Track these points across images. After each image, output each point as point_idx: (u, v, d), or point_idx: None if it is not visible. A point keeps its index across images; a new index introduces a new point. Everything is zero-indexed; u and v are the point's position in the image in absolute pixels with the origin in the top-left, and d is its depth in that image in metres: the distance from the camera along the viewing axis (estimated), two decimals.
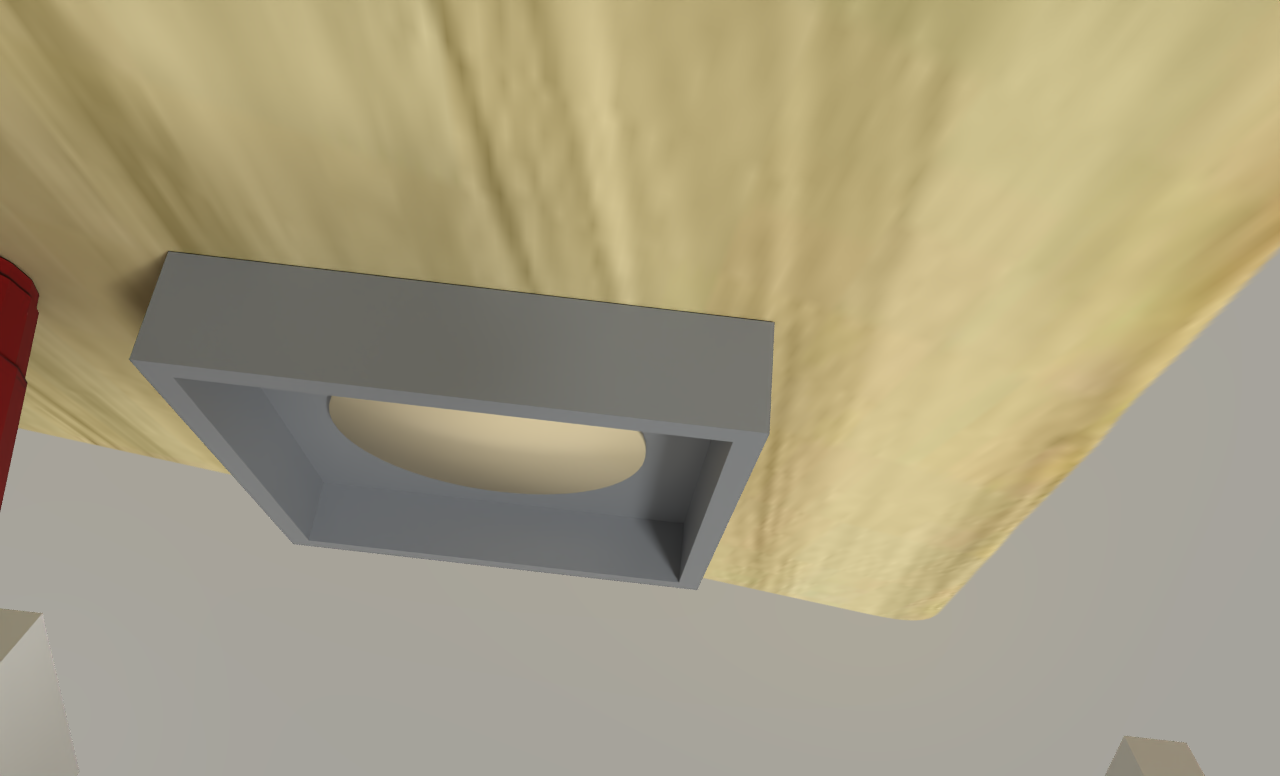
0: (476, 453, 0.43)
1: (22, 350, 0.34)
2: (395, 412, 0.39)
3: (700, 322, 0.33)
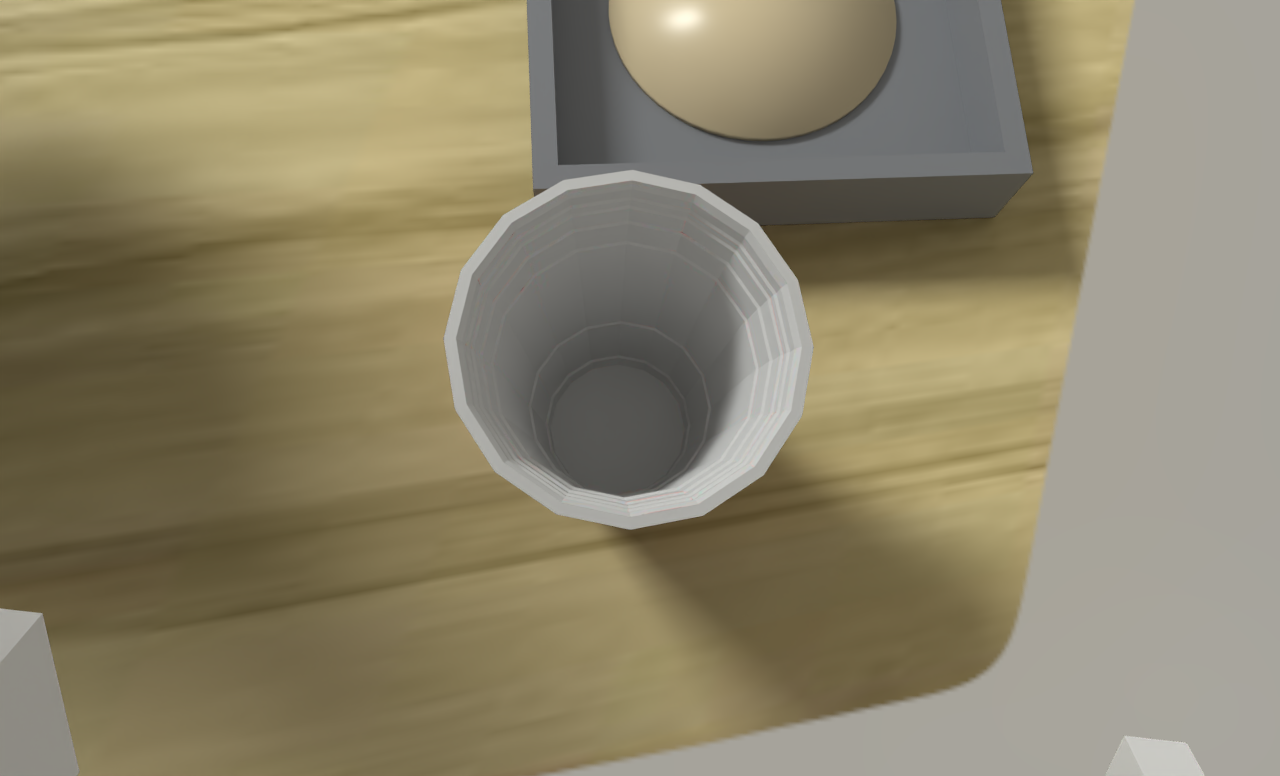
0: (794, 21, 0.44)
1: None
2: (721, 80, 0.43)
3: None
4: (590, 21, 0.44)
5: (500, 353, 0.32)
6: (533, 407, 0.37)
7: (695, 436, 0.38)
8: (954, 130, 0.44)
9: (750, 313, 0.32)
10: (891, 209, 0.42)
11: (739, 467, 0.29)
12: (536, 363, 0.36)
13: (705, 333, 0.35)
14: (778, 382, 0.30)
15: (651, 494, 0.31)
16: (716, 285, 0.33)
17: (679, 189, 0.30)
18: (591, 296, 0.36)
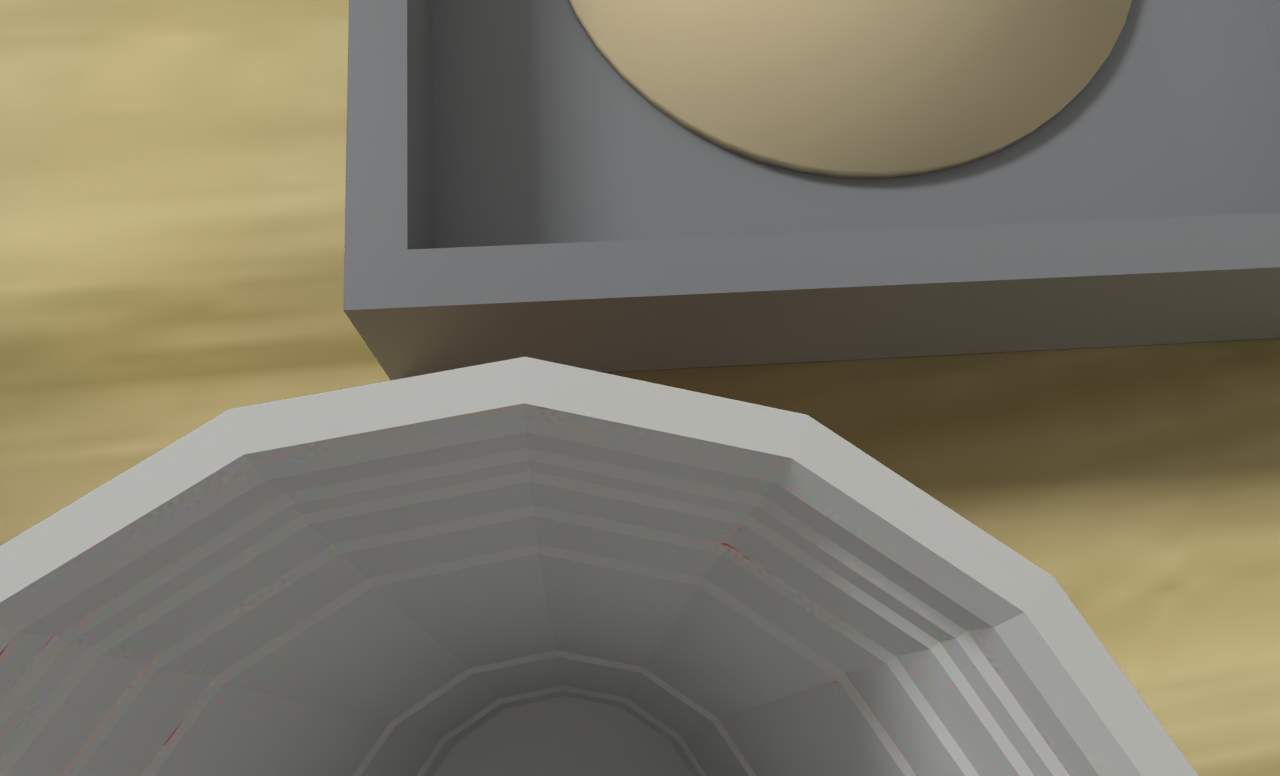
0: None
1: None
2: (785, 50, 0.21)
3: None
4: None
5: None
6: None
7: None
8: (1274, 152, 0.21)
9: None
10: (1161, 326, 0.19)
11: None
12: None
13: (784, 744, 0.12)
14: None
15: None
16: (837, 688, 0.10)
17: (722, 436, 0.07)
18: (462, 637, 0.13)
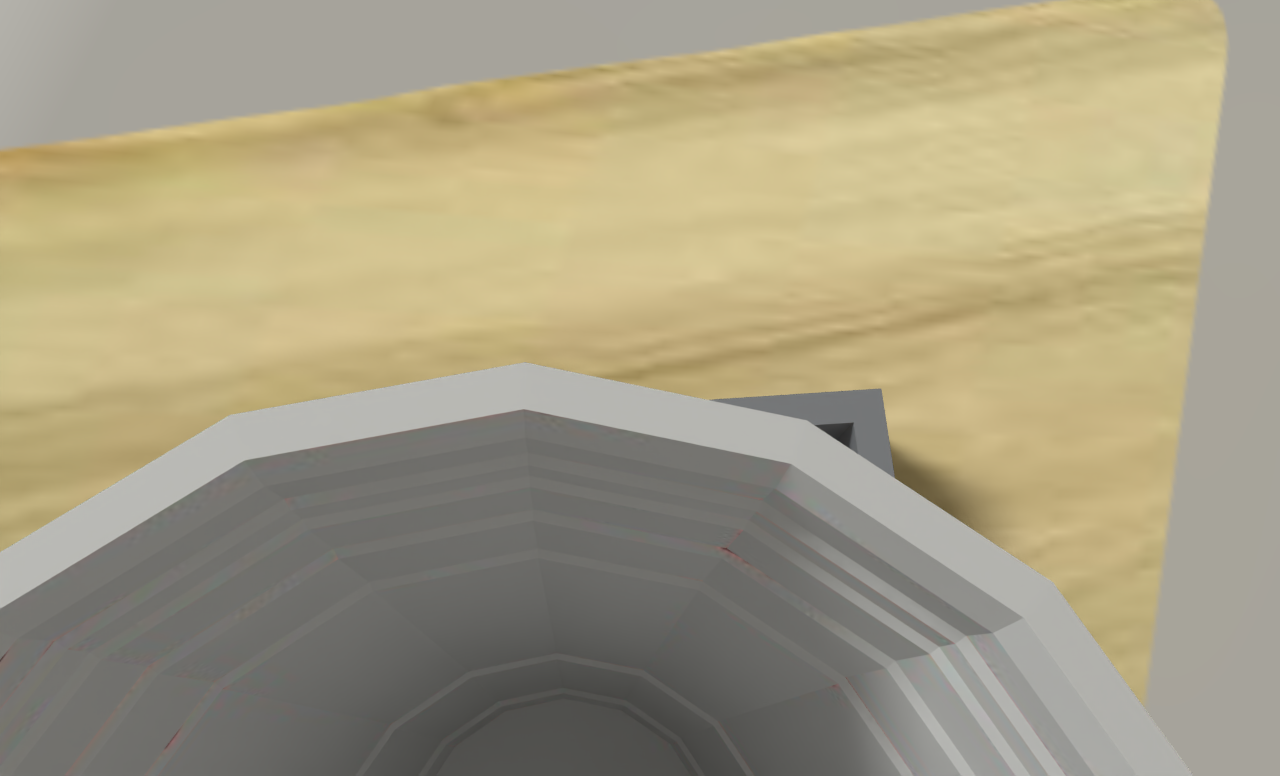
0: None
1: None
2: None
3: None
4: None
5: None
6: None
7: None
8: None
9: None
10: None
11: None
12: None
13: (784, 748, 0.12)
14: None
15: None
16: (837, 692, 0.10)
17: (722, 442, 0.07)
18: (462, 640, 0.13)
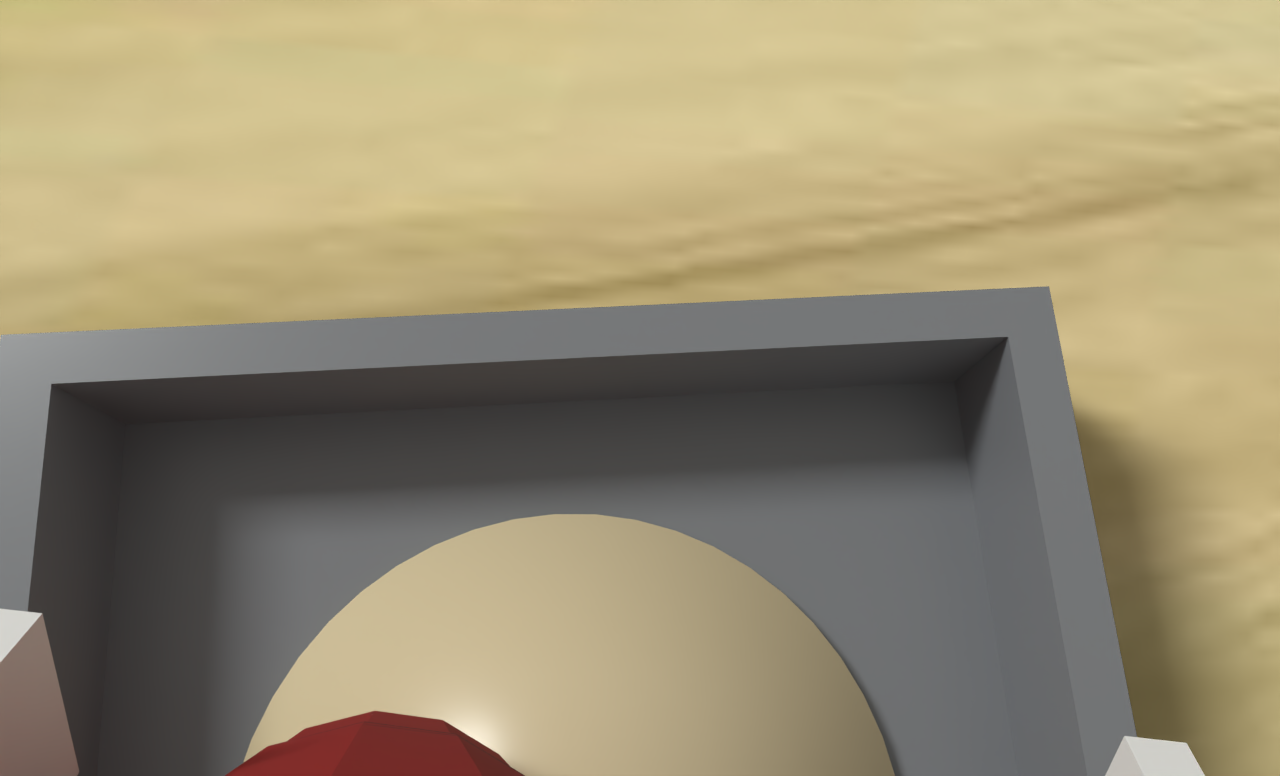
0: None
1: None
2: None
3: None
4: None
5: None
6: None
7: None
8: None
9: None
10: None
11: None
12: None
13: None
14: None
15: None
16: None
17: None
18: None
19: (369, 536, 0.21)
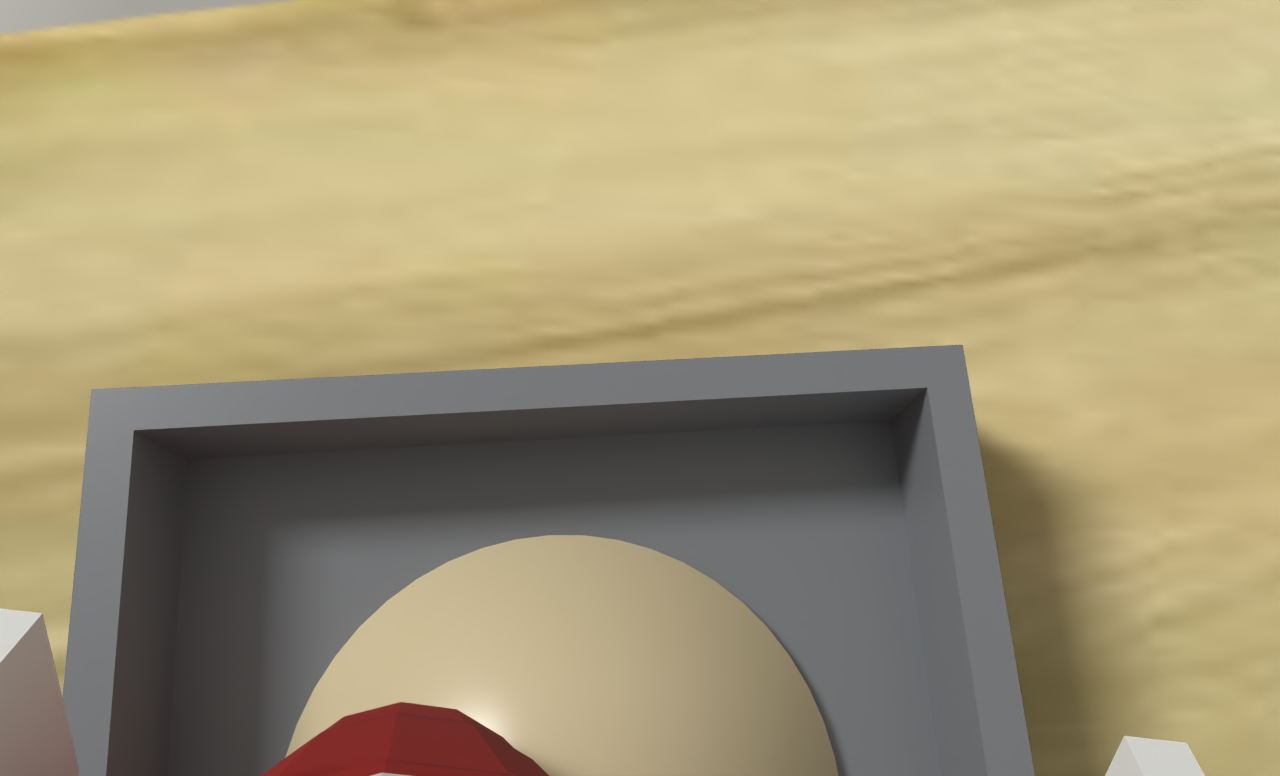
0: None
1: (418, 715, 0.19)
2: None
3: None
4: None
5: None
6: None
7: None
8: None
9: None
10: None
11: None
12: None
13: None
14: None
15: None
16: None
17: None
18: None
19: (393, 554, 0.24)
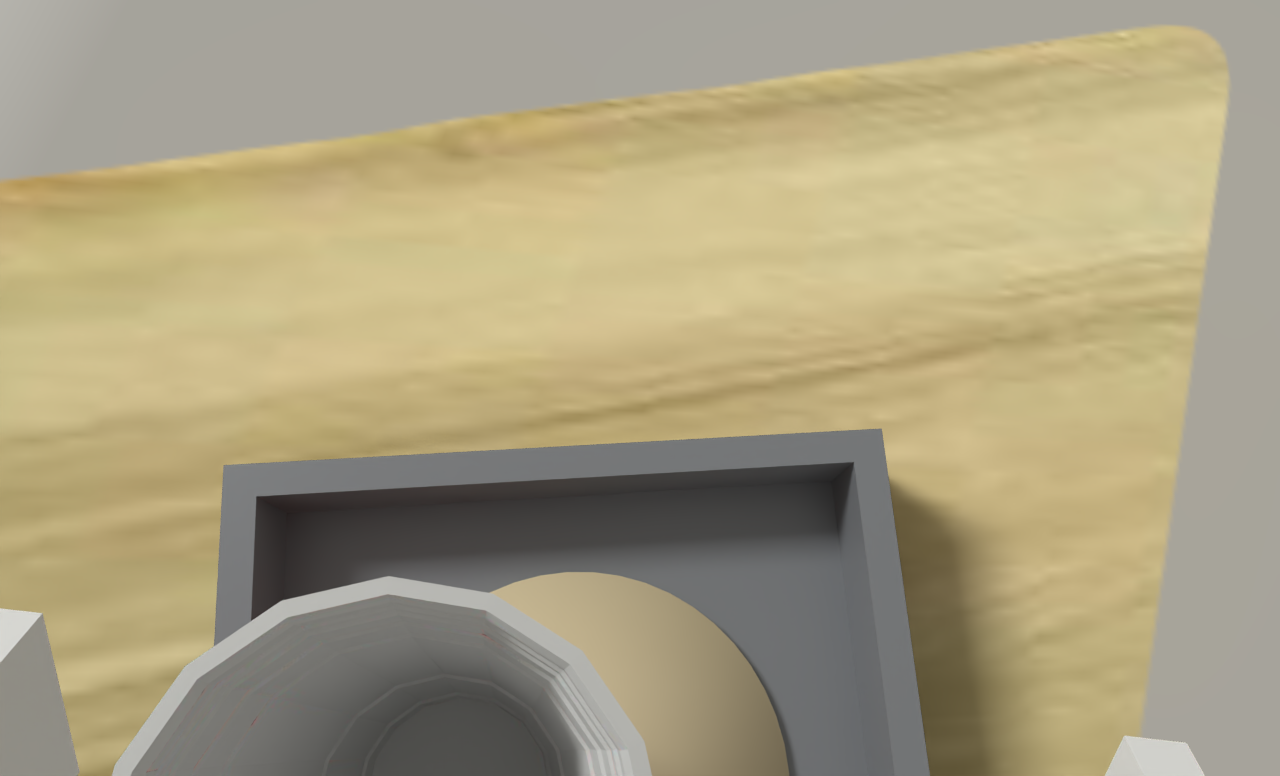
0: None
1: None
2: None
3: None
4: None
5: None
6: None
7: None
8: None
9: (590, 748, 0.22)
10: None
11: None
12: (321, 754, 0.26)
13: (549, 719, 0.25)
14: None
15: None
16: (545, 692, 0.23)
17: (461, 603, 0.20)
18: (387, 670, 0.25)
19: None
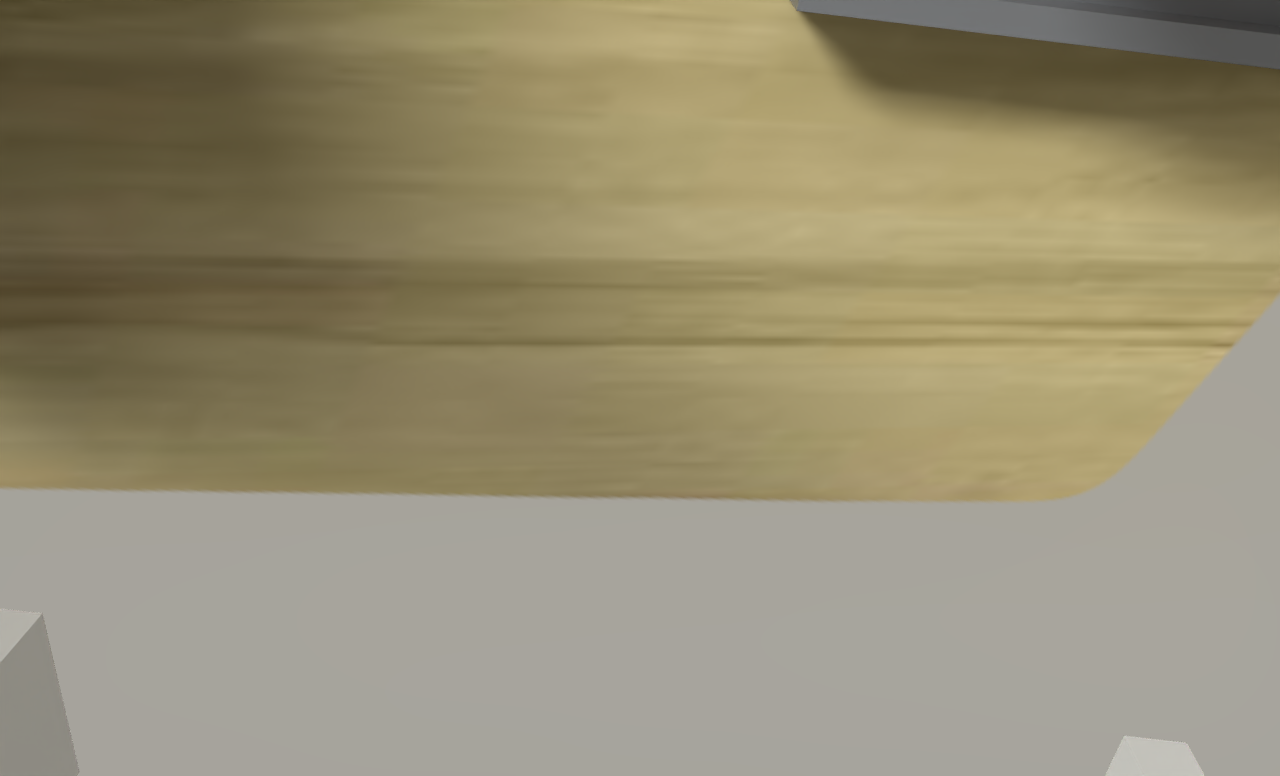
0: None
1: None
2: None
3: None
4: None
5: None
6: None
7: None
8: None
9: None
10: None
11: None
12: None
13: None
14: None
15: None
16: None
17: None
18: None
19: None
